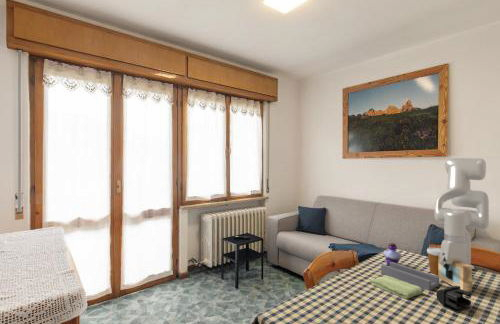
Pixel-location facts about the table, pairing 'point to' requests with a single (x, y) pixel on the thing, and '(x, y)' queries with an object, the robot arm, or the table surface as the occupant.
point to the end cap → (454, 298)
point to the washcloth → (397, 287)
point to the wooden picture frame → (457, 275)
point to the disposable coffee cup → (433, 259)
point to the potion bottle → (392, 254)
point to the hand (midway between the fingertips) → (454, 277)
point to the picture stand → (411, 276)
